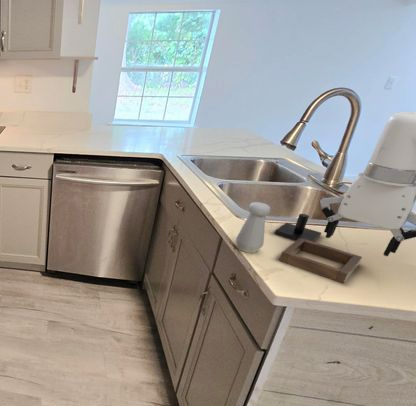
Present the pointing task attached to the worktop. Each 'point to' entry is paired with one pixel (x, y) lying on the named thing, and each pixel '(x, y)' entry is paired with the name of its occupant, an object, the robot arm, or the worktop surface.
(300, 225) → the peg stand
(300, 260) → the walnut frame
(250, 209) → the salt shaker
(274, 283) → the worktop surface
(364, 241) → the worktop surface
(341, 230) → the worktop surface
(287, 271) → the worktop surface
